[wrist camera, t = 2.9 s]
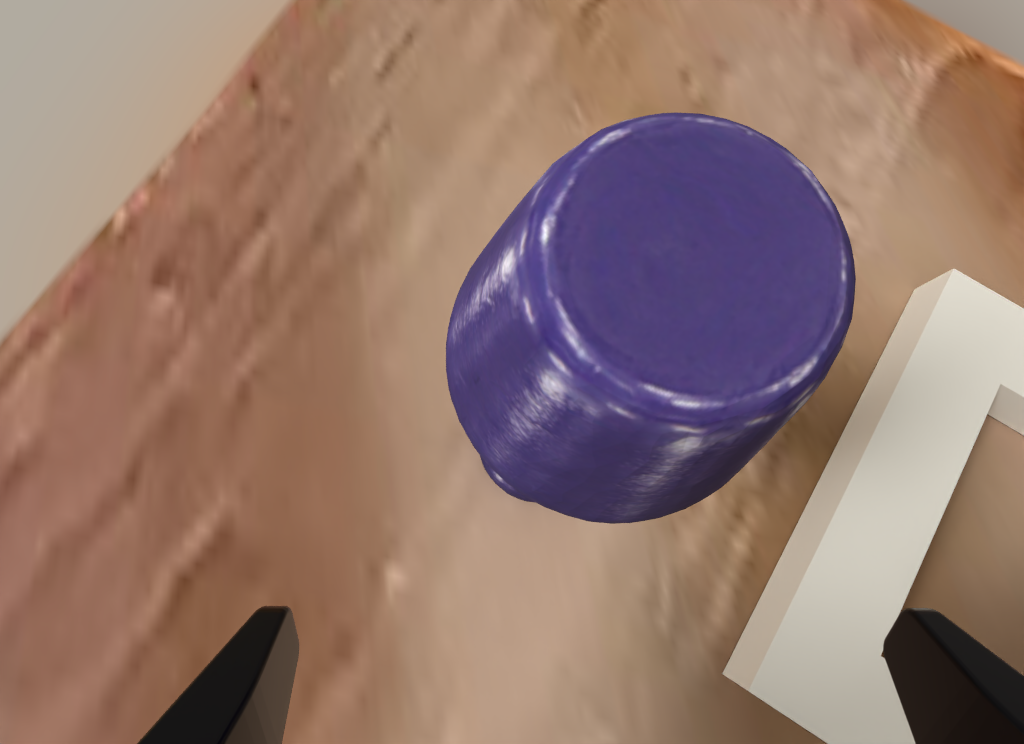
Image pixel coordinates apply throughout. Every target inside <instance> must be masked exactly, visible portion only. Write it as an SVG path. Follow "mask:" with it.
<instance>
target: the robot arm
mask: <svg viewBox="0 0 1024 744" xmlns="http://www.w3.org/2000/svg"><path fill="white" fill-rule="evenodd" d="M883 652H884V657H885V660H886V663H887V666H888V669H889V672H890V674H891V677H892V680H893V683H894V685H895V688H896V691H897V694H898V696H899V699H900V702H901V705H902V708H903V710H904V713H905V716H906V719H907V721H908V724H909V727H910V730H911V732H912V735H913V738H914V741H915V744H1024V676H1023V675H1022V674H1020V673H1019V672H1018V671H1016V670H1015V669H1014V668H1012V667H1011V666H1010V665H1008V664H1007V663H1006V662H1004V661H1003V660H1002V659H1000V658H999V657H998V656H997V655H995V654H994V653H993V652H991V651H990V650H989V649H987V648H986V647H985V646H983V645H982V644H981V643H979V642H978V641H977V640H975V639H974V638H973V637H971V636H970V635H969V634H967V633H966V632H965V631H964V630H962V629H961V628H960V627H958V626H957V625H956V624H954V623H953V622H952V621H950V620H949V619H948V618H946V617H945V616H944V615H942V614H941V613H939V612H938V611H936V610H933V609H929V608H907V609H904V610H903V611H902V612H901V613H900V614H899V616H898V617H897V619H896V621H895V622H894V624H893V626H892V628H891V629H890V631H889V633H888V634H887V636H886V638H885V640H884V644H883ZM298 656H299V639H298V635H297V631H296V626H295V622H294V618H293V613H292V611H291V609H290V608H289V607H287V606H264V607H261V608H259V609H258V610H257V611H256V612H255V613H254V614H253V615H252V616H251V617H250V618H249V619H248V620H247V622H246V623H245V624H244V625H243V626H242V627H241V628H240V629H239V630H238V632H237V633H236V634H235V635H234V636H233V637H232V638H231V639H230V641H229V642H228V643H227V644H226V645H225V646H224V647H223V648H222V649H221V651H220V652H219V653H218V654H217V655H216V656H215V657H214V658H213V659H212V661H211V662H210V663H209V664H208V665H207V666H206V667H205V668H204V670H203V671H202V672H201V673H200V674H199V675H198V676H197V677H196V678H195V680H194V681H193V682H192V683H191V684H190V685H189V686H188V687H187V689H186V690H185V691H184V692H183V693H182V694H181V695H180V696H179V697H178V699H177V700H176V701H175V702H174V703H173V704H172V705H171V706H170V708H169V709H168V710H167V711H166V712H165V713H164V714H163V715H162V716H161V718H160V719H159V720H158V721H157V722H156V723H155V724H154V725H153V726H152V728H151V729H150V730H149V731H148V732H147V733H146V734H145V735H144V737H143V738H142V739H141V740H140V741H139V742H138V743H137V744H282V739H283V734H284V729H285V724H286V719H287V713H288V708H289V703H290V698H291V693H292V687H293V682H294V677H295V672H296V667H297V661H298Z"/></svg>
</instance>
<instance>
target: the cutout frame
mask: <svg viewBox="0 0 1024 744" xmlns="http://www.w3.org/2000/svg"><path fill="white" fill-rule="evenodd" d="M987 414H988V415H990V416H991V417H993V418H995V419H997V420H998V421H1000V422H1002V423H1003V424H1005V425H1007V426H1008V427H1010V428H1012V429H1013V430H1015V431H1017V432H1018V433H1020V434H1022V435H1023V436H1024V308H1022V307H1020V306H1018V305H1017V304H1015V303H1013V302H1011V301H1010V300H1008V299H1006V298H1004V297H1003V296H1001V295H999V294H997V293H996V292H994V291H992V290H990V289H989V288H987V287H985V286H983V285H982V284H980V283H978V282H976V281H975V280H973V279H971V278H970V277H968V276H966V275H964V274H963V273H961V272H959V271H957V270H956V269H952V270H950V271H948V272H946V273H944V274H942V275H940V276H939V277H937V278H935V279H933V280H931V281H929V282H927V283H925V284H923V285H922V286H920V287H918V288H916V289H914V291H913V293H912V295H911V297H910V299H909V301H908V303H907V305H906V307H905V309H904V311H903V313H902V315H901V317H900V319H899V321H898V323H897V325H896V327H895V329H894V331H893V333H892V335H891V337H890V339H889V341H888V343H887V345H886V347H885V349H884V351H883V353H882V355H881V357H880V359H879V361H878V363H877V365H876V367H875V369H874V371H873V373H872V375H871V377H870V379H869V381H868V383H867V385H866V387H865V389H864V391H863V393H862V395H861V397H860V399H859V401H858V403H857V405H856V407H855V409H854V411H853V413H852V415H851V417H850V419H849V421H848V423H847V425H846V427H845V429H844V431H843V433H842V435H841V437H840V439H839V441H838V443H837V445H836V447H835V449H834V451H833V453H832V455H831V457H830V459H829V461H828V463H827V465H826V467H825V469H824V471H823V473H822V475H821V477H820V479H819V481H818V483H817V485H816V487H815V489H814V491H813V493H812V495H811V497H810V499H809V501H808V503H807V505H806V507H805V509H804V511H803V513H802V515H801V517H800V519H799V521H798V523H797V525H796V527H795V529H794V531H793V533H792V535H791V537H790V539H789V541H788V543H787V545H786V547H785V549H784V551H783V553H782V555H781V557H780V559H779V561H778V563H777V565H776V567H775V569H774V571H773V573H772V575H771V577H770V579H769V581H768V583H767V585H766V587H765V589H764V591H763V593H762V595H761V597H760V599H759V601H758V603H757V605H756V607H755V609H754V611H753V613H752V615H751V617H750V619H749V621H748V623H747V625H746V627H745V629H744V631H743V633H742V635H741V637H740V639H739V641H738V643H737V645H736V647H735V649H734V651H733V653H732V655H731V657H730V659H729V661H728V663H727V665H726V667H725V669H724V671H723V673H722V674H723V675H724V676H726V677H727V678H729V679H731V680H732V681H734V682H735V683H737V684H738V685H740V686H741V687H743V688H744V689H746V690H747V691H749V692H750V693H752V694H753V695H755V696H756V697H758V698H759V699H761V700H762V701H764V702H765V703H767V704H768V705H770V706H771V707H773V708H774V709H776V710H777V711H779V712H780V713H782V714H783V715H785V716H786V717H788V718H790V719H791V720H793V721H794V722H796V723H797V724H799V725H800V726H802V727H803V728H805V729H806V730H808V731H809V732H811V733H812V734H814V735H815V736H817V737H818V738H820V739H821V740H823V741H824V742H826V743H827V744H915V741H914V738H913V735H912V732H911V730H910V727H909V724H908V721H907V719H906V716H905V713H904V710H903V708H902V705H901V702H900V699H899V696H898V694H897V691H896V688H895V685H894V683H893V680H892V677H891V674H890V672H889V669H888V666H887V663H886V660H885V658H883V657H882V656H881V654H882V652H883V644H884V640H885V638H886V636H887V634H888V633H889V631H890V629H891V628H892V626H893V624H894V622H895V621H896V619H897V617H898V616H899V613H900V611H901V609H902V607H903V604H904V602H905V600H906V597H907V595H908V593H909V591H910V588H911V586H912V584H913V582H914V579H915V577H916V575H917V573H918V570H919V568H920V566H921V563H922V561H923V559H924V557H925V554H926V552H927V550H928V548H929V545H930V543H931V541H932V538H933V536H934V534H935V532H936V529H937V527H938V525H939V523H940V520H941V518H942V516H943V513H944V511H945V509H946V507H947V504H948V502H949V500H950V498H951V495H952V493H953V491H954V489H955V486H956V484H957V482H958V479H959V477H960V475H961V473H962V470H963V468H964V466H965V464H966V461H967V459H968V457H969V454H970V452H971V450H972V448H973V445H974V443H975V441H976V439H977V436H978V434H979V432H980V429H981V427H982V425H983V423H984V420H985V418H986V416H987Z"/></svg>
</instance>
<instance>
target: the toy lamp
mask: <svg viewBox="0 0 1024 744" xmlns="http://www.w3.org/2000/svg"><path fill="white" fill-rule="evenodd" d="M855 280H856V278H855V267H854V259H853V253H852V247H851V244H850V240H849V237H848V234H847V231H846V229H845V226H844V224H843V221H842V219H841V217H840V214H839V212H838V210H837V208H836V206H835V204H834V203H833V201H832V199H831V198H830V196H829V195H828V193H827V192H826V191H825V189H824V188H823V186H822V185H821V184H820V182H819V181H818V180H817V178H816V177H815V175H814V174H813V173H812V171H811V170H810V169H809V168H808V167H807V166H805V165H804V164H803V163H802V162H801V161H800V160H799V159H797V158H796V157H795V156H794V155H793V154H792V153H791V152H789V151H788V150H787V149H786V148H785V147H783V146H782V145H780V144H778V143H777V142H775V141H774V140H772V139H771V138H769V137H767V136H765V135H763V134H761V133H759V132H757V131H756V130H754V129H752V128H750V127H748V126H745V125H742V124H739V123H736V122H733V121H730V120H727V119H724V118H719V117H714V116H709V115H704V114H693V113H661V114H655V115H648V116H643V117H638V118H634V119H629V120H625V121H622V122H619V123H617V124H614V125H612V126H609V127H606V128H604V129H601V130H600V131H598V132H597V133H595V134H594V135H592V136H590V137H589V138H587V139H586V140H585V141H583V142H582V143H580V144H579V145H577V146H576V147H575V148H573V149H572V150H570V151H569V152H567V153H566V154H565V155H564V156H562V157H561V158H560V159H558V160H557V161H556V162H554V163H553V164H552V165H551V166H550V167H549V169H548V170H547V171H546V172H545V173H544V174H543V176H542V177H541V178H540V179H539V180H538V181H537V183H536V184H535V185H534V186H533V187H532V189H531V190H530V191H529V192H528V193H527V195H526V196H525V197H524V198H523V199H522V201H521V202H520V203H519V204H518V205H517V207H516V208H515V209H514V210H513V212H512V213H511V214H510V215H509V217H508V218H507V219H506V221H505V222H504V223H503V224H502V226H501V227H500V228H499V230H498V231H497V232H496V234H495V235H494V236H493V238H492V239H491V240H490V242H489V243H488V244H487V246H486V247H485V248H484V250H483V251H482V253H481V254H480V255H479V257H478V258H477V260H476V261H475V263H474V264H473V266H472V267H471V268H470V270H469V272H468V274H467V276H466V278H465V280H464V282H463V284H462V286H461V288H460V290H459V293H458V295H457V298H456V301H455V304H454V307H453V311H452V314H451V318H450V323H449V327H448V334H447V342H446V372H447V379H448V386H449V391H450V395H451V400H452V402H453V405H454V407H455V410H456V413H457V416H458V419H459V421H460V423H461V425H462V426H463V428H464V430H465V432H466V434H467V436H468V437H469V439H470V441H471V443H472V444H473V446H474V448H475V449H476V450H477V452H478V453H479V454H480V457H481V460H482V463H483V465H484V468H485V470H486V471H487V473H488V474H489V476H490V478H491V479H492V480H493V481H494V482H495V483H496V484H497V485H498V486H499V487H500V488H501V489H503V490H504V491H505V492H506V493H508V494H509V495H511V496H514V497H516V498H518V499H521V500H524V501H529V502H536V503H538V504H540V505H542V506H544V507H546V508H549V509H551V510H554V511H557V512H559V513H562V514H565V515H567V516H571V517H575V518H579V519H582V520H586V521H591V522H603V523H632V522H639V521H645V520H650V519H656V518H660V517H663V516H666V515H669V514H672V513H675V512H678V511H680V510H683V509H686V508H688V507H689V506H691V505H693V504H695V503H697V502H699V501H701V500H703V499H704V498H706V497H708V496H709V495H711V494H712V493H714V492H715V491H717V490H718V489H720V488H721V487H722V486H724V485H725V484H726V483H727V482H728V481H729V480H730V479H731V478H732V477H733V476H734V475H735V474H736V473H738V472H739V471H740V470H741V469H742V468H743V467H744V466H745V465H746V464H747V463H748V462H749V461H750V460H751V459H752V458H753V457H754V456H755V455H756V454H757V453H758V452H759V451H760V450H761V449H762V448H763V447H764V446H765V445H766V444H767V442H768V441H769V440H770V439H771V438H772V437H773V436H774V435H775V434H776V433H777V432H778V431H779V430H780V429H781V428H782V427H783V426H784V425H785V424H786V423H787V422H788V421H789V420H790V419H791V418H792V417H793V416H794V415H795V414H796V413H797V412H798V410H799V409H800V408H801V407H802V406H803V405H804V404H805V403H806V402H807V401H808V399H809V398H810V397H811V396H812V394H813V393H814V392H815V390H816V389H817V388H818V386H819V385H820V384H821V382H822V381H823V380H824V379H825V377H826V375H827V373H828V371H829V369H830V367H831V365H832V364H833V362H834V360H835V358H836V356H837V355H838V353H839V351H840V349H841V347H842V345H843V342H844V340H845V337H846V334H847V331H848V328H849V325H850V323H851V320H852V313H853V305H854V295H855Z"/></svg>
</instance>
